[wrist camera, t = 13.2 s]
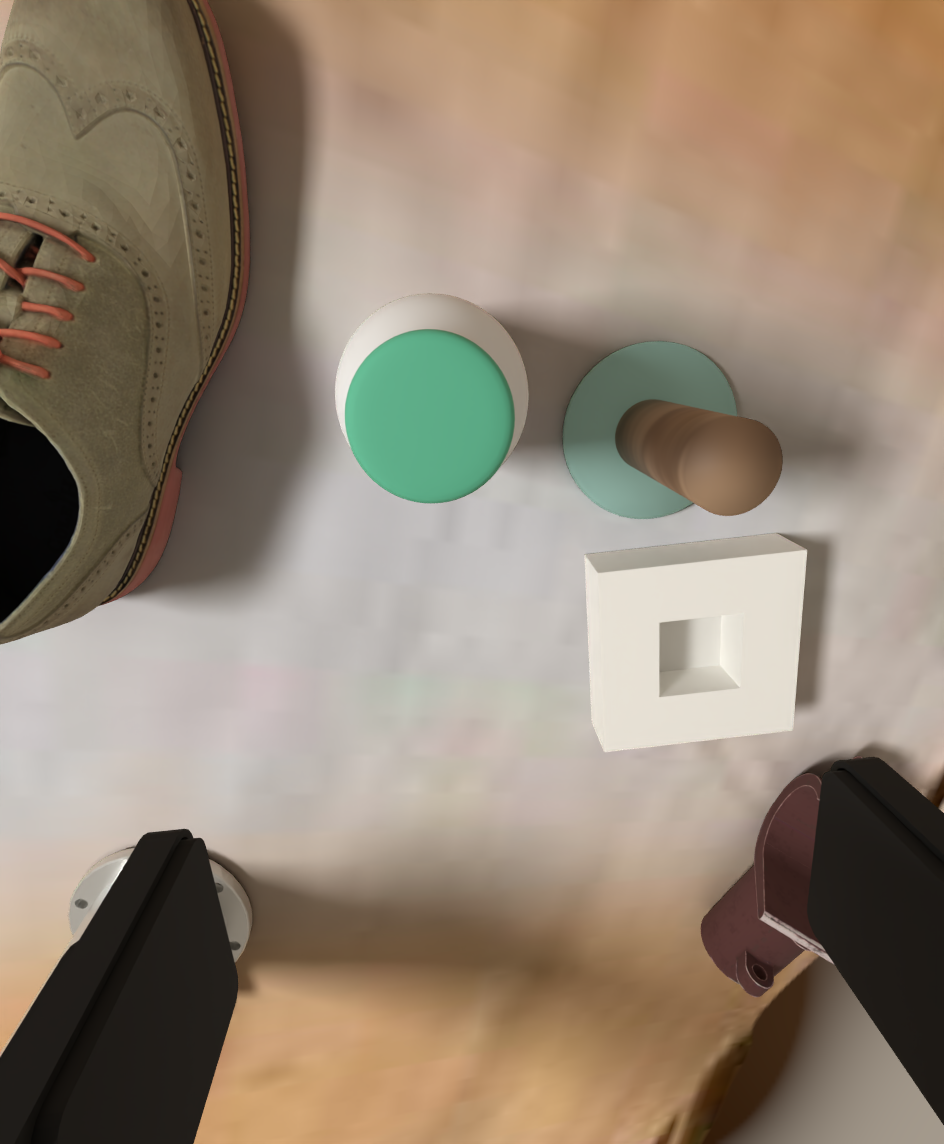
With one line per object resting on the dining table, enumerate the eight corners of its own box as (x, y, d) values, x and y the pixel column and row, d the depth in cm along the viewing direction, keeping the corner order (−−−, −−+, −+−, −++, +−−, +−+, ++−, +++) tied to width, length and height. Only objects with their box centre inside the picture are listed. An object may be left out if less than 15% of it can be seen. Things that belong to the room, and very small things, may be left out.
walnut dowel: (683, 466, 37) (779, 510, 27) (615, 473, 37) (685, 520, 27) (684, 395, 36) (785, 413, 26) (614, 402, 36) (687, 423, 25)
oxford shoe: (288, 11, 30) (199, -189, 19) (206, 616, 40) (116, 721, 29) (37, -72, 29) (-221, -342, 17) (16, 577, 38) (-157, 672, 27)
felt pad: (729, 506, 39) (734, 509, 38) (566, 525, 39) (568, 527, 38) (736, 332, 35) (740, 332, 35) (557, 351, 35) (559, 351, 35)
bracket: (916, 779, 43) (957, 896, 34) (772, 917, 51) (776, 1039, 43) (828, 732, 44) (847, 834, 36) (701, 874, 52) (691, 985, 44)
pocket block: (765, 701, 44) (792, 730, 40) (591, 721, 43) (604, 752, 40) (776, 533, 40) (807, 549, 36) (584, 554, 39) (597, 573, 36)
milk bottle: (520, 333, 35) (617, 314, 16) (481, 468, 37) (524, 590, 18) (383, 289, 34) (313, 215, 15) (350, 431, 36) (256, 521, 17)
